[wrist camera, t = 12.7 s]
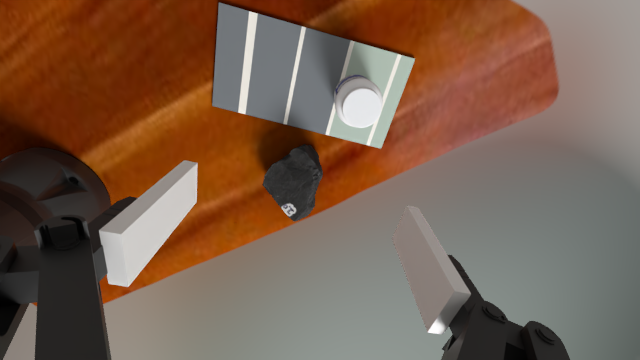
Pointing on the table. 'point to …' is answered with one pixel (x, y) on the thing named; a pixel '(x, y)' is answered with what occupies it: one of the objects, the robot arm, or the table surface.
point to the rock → (295, 181)
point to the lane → (299, 74)
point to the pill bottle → (358, 101)
